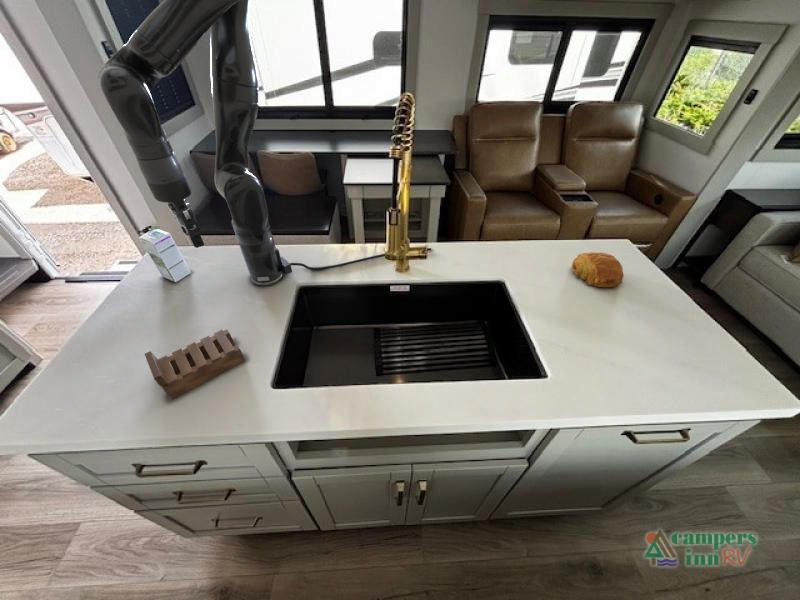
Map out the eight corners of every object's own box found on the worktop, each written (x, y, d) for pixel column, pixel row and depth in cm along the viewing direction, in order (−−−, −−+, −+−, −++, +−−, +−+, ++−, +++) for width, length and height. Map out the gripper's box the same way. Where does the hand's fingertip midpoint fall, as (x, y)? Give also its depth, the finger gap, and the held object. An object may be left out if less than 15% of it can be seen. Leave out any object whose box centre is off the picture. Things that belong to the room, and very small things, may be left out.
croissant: (564, 266, 113) (569, 246, 108) (612, 264, 111) (620, 244, 106) (577, 292, 102) (584, 272, 97) (631, 291, 100) (641, 270, 95)
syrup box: (191, 272, 101) (171, 232, 91) (175, 283, 97) (151, 242, 87) (179, 267, 103) (157, 227, 93) (161, 278, 99) (137, 236, 89)
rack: (232, 340, 82) (221, 318, 76) (245, 360, 77) (235, 338, 72) (162, 375, 74) (144, 353, 68) (172, 399, 69) (153, 378, 64)
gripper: (193, 181, 70) (219, 245, 81) (174, 162, 77) (200, 223, 88) (153, 191, 66) (186, 256, 77) (137, 169, 73) (169, 232, 84)
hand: (194, 239), depth 82 cm, fingers open, 8 cm apart
